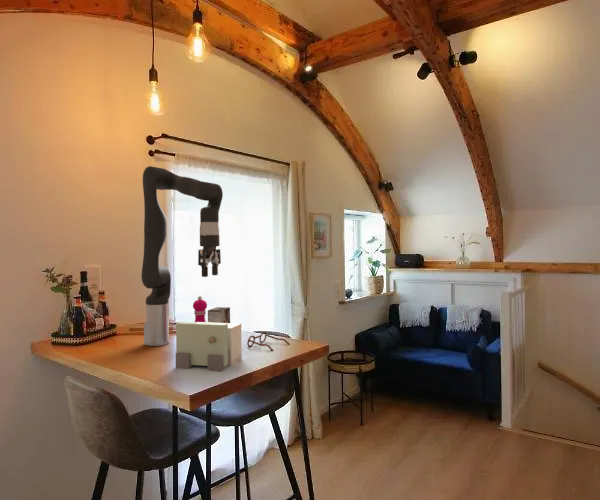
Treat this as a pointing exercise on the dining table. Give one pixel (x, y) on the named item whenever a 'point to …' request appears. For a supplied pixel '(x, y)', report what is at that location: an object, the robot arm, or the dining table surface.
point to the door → (202, 341)
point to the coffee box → (219, 315)
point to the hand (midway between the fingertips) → (209, 276)
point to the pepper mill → (200, 309)
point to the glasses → (263, 340)
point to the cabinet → (217, 360)
